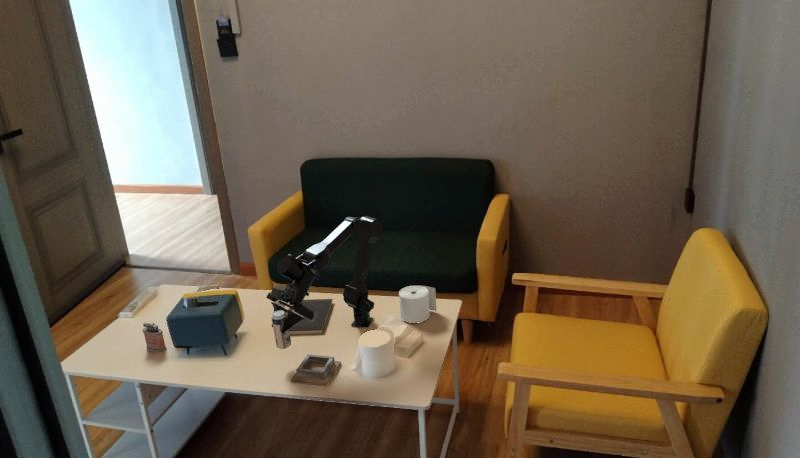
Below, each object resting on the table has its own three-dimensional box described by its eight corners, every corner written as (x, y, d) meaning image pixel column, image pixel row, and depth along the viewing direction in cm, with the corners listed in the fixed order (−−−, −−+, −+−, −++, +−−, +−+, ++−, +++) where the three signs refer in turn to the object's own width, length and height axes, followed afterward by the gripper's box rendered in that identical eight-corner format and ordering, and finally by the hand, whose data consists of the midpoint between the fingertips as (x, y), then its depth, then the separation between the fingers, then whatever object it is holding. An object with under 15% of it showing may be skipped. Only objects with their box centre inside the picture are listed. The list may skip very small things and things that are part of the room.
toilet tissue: (394, 318, 224) (392, 294, 221) (415, 305, 232) (413, 281, 229) (417, 327, 217) (415, 301, 214) (438, 313, 226) (436, 288, 222)
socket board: (306, 360, 202) (305, 351, 201) (341, 364, 199) (340, 354, 197) (290, 381, 191) (289, 372, 190) (326, 386, 188) (325, 376, 187)
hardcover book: (333, 304, 239) (332, 298, 239) (323, 335, 218) (322, 329, 217) (292, 305, 241) (291, 300, 240) (278, 336, 219) (277, 330, 218)
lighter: (169, 348, 215) (163, 323, 212) (161, 353, 213) (155, 327, 209) (151, 344, 219) (145, 319, 215) (144, 349, 216) (138, 324, 212)
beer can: (288, 350, 196) (283, 316, 192) (274, 349, 197) (268, 316, 193) (293, 342, 201) (288, 309, 196) (279, 341, 201) (274, 309, 197)
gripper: (266, 268, 199) (242, 312, 196) (301, 283, 187) (277, 330, 184) (289, 281, 207) (267, 324, 204) (325, 297, 195) (302, 342, 192)
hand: (277, 329), depth 196 cm, fingers closed on beer can, 5 cm apart
